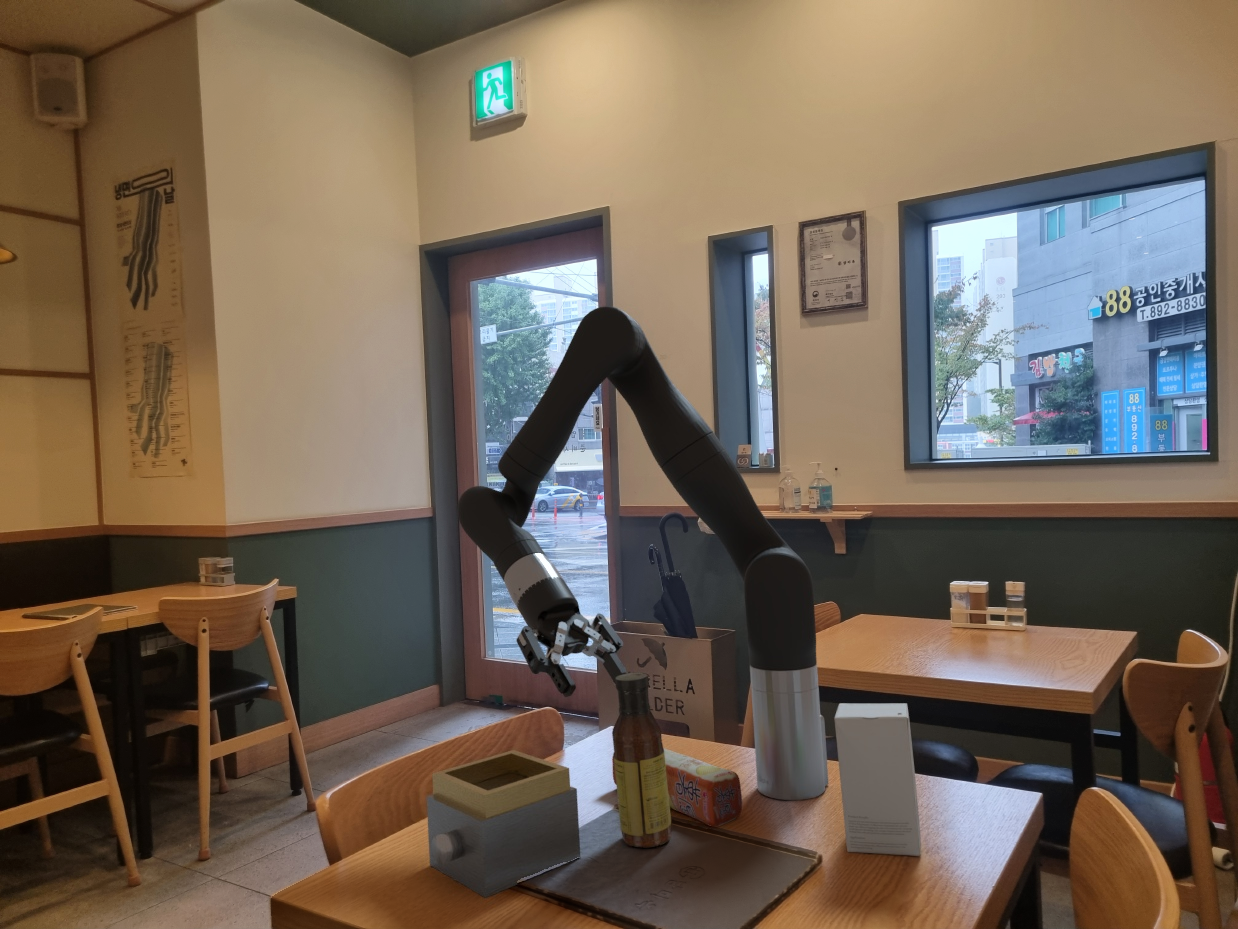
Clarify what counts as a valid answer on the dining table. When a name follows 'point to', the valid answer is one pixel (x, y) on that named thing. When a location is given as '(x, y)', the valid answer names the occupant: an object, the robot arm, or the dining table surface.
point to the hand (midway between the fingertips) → (597, 686)
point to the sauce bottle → (640, 766)
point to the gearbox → (501, 820)
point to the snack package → (701, 789)
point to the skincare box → (878, 779)
